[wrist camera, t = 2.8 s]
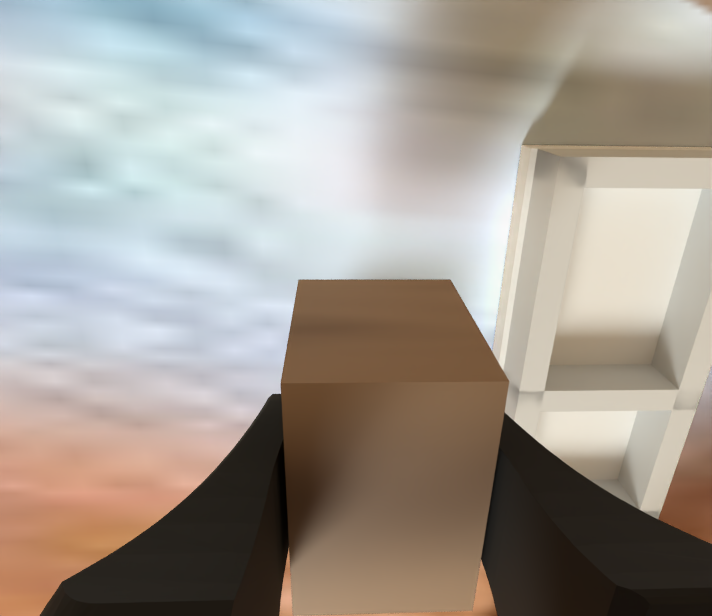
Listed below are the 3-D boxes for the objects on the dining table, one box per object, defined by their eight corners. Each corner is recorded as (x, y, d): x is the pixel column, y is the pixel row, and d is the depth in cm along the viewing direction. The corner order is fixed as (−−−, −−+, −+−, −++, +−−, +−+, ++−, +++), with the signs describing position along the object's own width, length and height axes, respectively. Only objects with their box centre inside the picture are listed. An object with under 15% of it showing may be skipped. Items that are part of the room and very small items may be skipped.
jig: (627, 479, 27) (660, 526, 24) (473, 482, 26) (490, 530, 23) (727, 147, 20) (790, 158, 17) (521, 144, 19) (552, 156, 17)
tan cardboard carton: (433, 459, 16) (472, 610, 11) (304, 461, 16) (292, 615, 11) (450, 279, 14) (509, 381, 9) (298, 279, 13) (280, 383, 9)
